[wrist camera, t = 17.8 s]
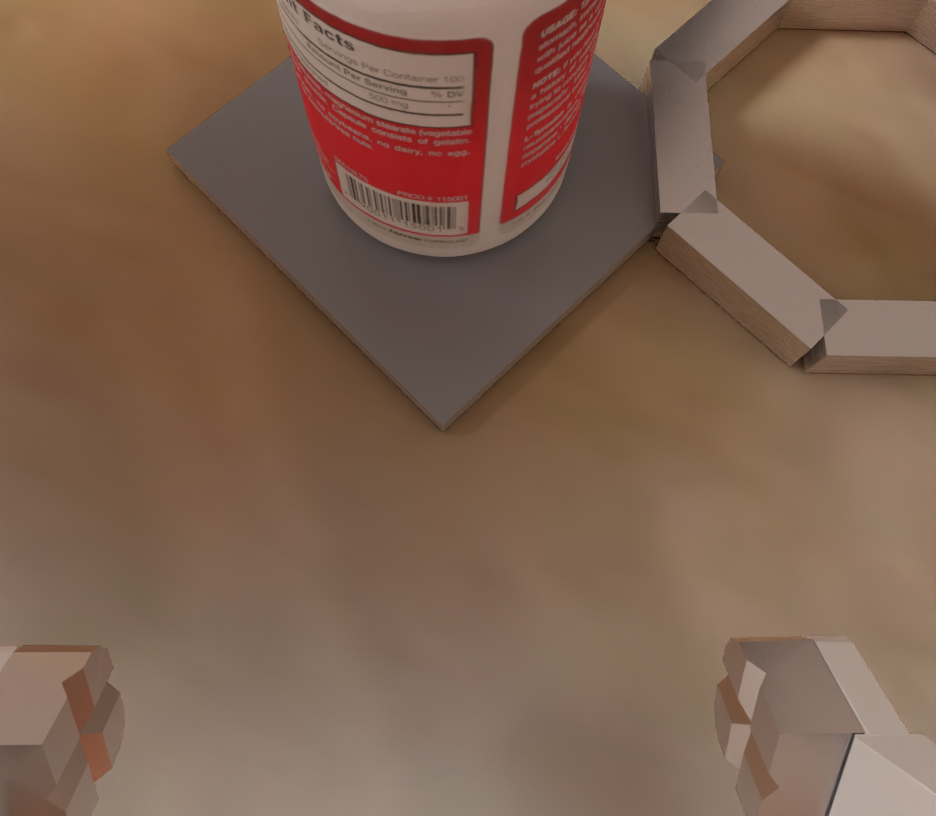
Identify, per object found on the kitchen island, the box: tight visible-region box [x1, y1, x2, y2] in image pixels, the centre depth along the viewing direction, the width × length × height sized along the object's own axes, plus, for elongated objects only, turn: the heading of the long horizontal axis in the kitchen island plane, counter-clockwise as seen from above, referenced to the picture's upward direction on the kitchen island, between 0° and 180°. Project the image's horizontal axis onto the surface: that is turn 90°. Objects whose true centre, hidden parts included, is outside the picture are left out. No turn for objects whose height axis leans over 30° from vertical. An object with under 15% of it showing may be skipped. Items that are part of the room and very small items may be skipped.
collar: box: [640, 0, 936, 375], centre depth 21 cm, size 12×12×1 cm
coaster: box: [166, 54, 725, 431], centre depth 21 cm, size 10×10×1 cm
